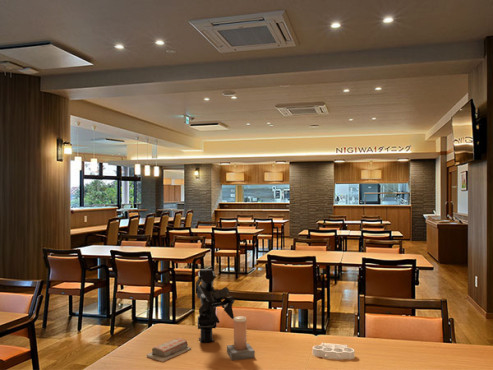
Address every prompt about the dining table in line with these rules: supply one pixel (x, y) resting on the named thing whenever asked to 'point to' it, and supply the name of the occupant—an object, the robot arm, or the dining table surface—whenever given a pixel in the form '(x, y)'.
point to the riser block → (240, 352)
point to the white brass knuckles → (333, 351)
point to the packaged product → (169, 349)
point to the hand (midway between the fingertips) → (226, 320)
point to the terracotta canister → (240, 333)
